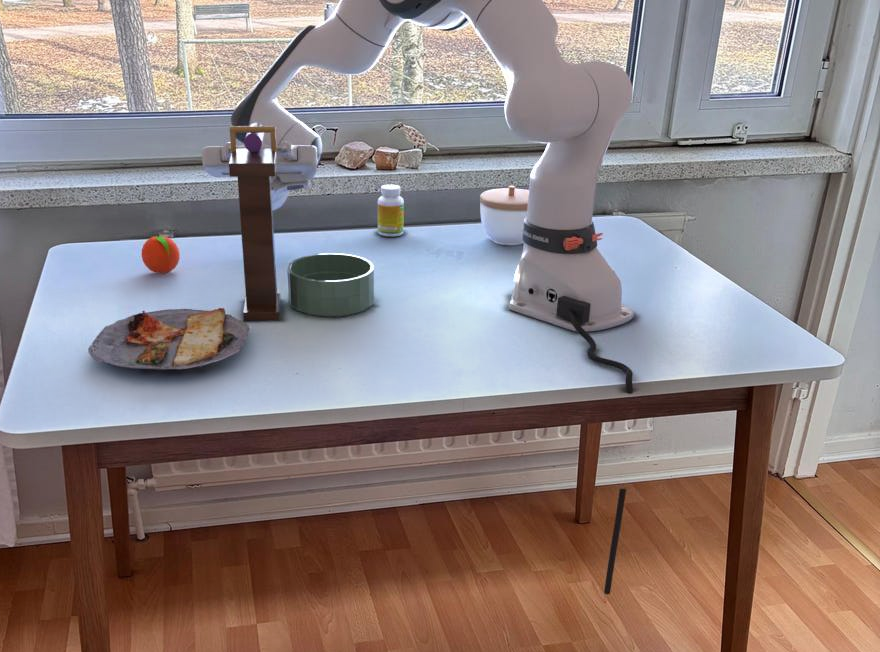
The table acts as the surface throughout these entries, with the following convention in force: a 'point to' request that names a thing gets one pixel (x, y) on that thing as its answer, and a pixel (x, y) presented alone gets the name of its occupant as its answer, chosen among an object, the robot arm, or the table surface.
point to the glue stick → (254, 140)
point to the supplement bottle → (390, 211)
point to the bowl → (331, 284)
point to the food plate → (170, 339)
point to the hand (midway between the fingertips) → (257, 146)
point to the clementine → (160, 254)
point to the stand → (257, 224)
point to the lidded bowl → (504, 214)
